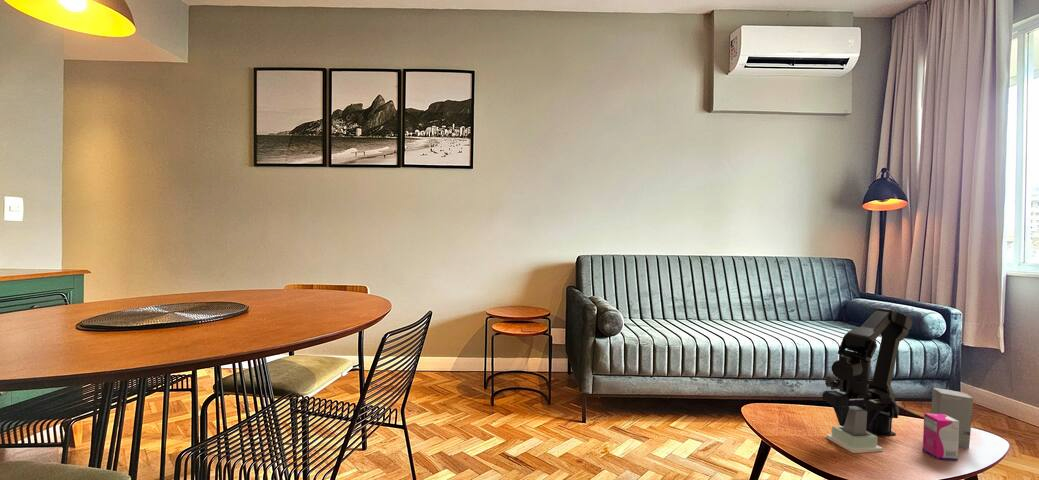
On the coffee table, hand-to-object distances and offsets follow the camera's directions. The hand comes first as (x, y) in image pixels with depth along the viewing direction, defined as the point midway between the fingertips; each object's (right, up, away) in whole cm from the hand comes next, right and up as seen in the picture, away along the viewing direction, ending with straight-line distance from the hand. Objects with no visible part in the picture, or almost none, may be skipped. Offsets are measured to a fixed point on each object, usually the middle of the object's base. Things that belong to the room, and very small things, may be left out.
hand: (854, 424), depth 145 cm
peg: (0, -5, 0) cm, 5 cm away
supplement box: (+21, -7, -5) cm, 23 cm away
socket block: (0, -6, 0) cm, 6 cm away
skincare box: (+32, -7, +3) cm, 33 cm away
